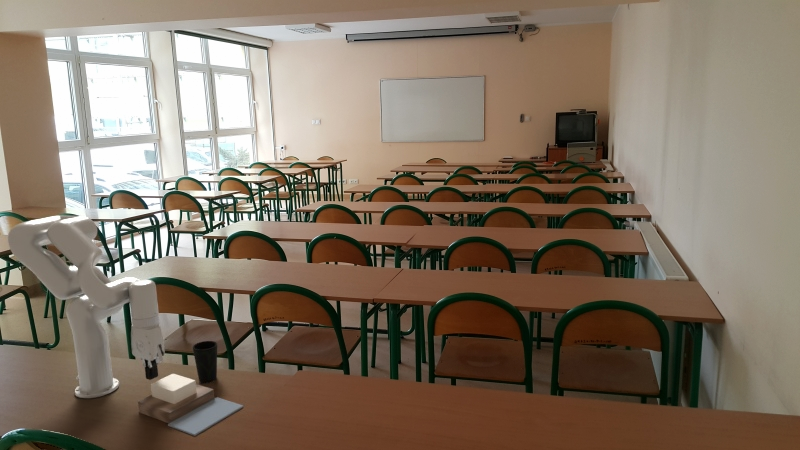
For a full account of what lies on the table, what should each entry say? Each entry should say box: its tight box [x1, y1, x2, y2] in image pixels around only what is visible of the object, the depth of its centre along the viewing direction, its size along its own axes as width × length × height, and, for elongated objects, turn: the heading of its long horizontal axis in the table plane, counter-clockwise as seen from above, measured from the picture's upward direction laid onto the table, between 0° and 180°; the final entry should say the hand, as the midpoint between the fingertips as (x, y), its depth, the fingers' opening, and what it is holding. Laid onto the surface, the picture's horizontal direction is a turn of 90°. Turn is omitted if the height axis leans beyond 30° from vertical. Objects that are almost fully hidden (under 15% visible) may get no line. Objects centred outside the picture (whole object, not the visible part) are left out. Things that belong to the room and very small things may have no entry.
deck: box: [137, 383, 216, 424], centre depth 173 cm, size 14×16×4 cm
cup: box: [192, 340, 218, 384], centre depth 190 cm, size 8×8×12 cm
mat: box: [167, 396, 244, 437], centre depth 168 cm, size 11×18×1 cm, turn 150°
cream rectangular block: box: [150, 373, 197, 404], centre depth 173 cm, size 10×8×4 cm
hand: (152, 377), depth 178 cm, fingers closed
